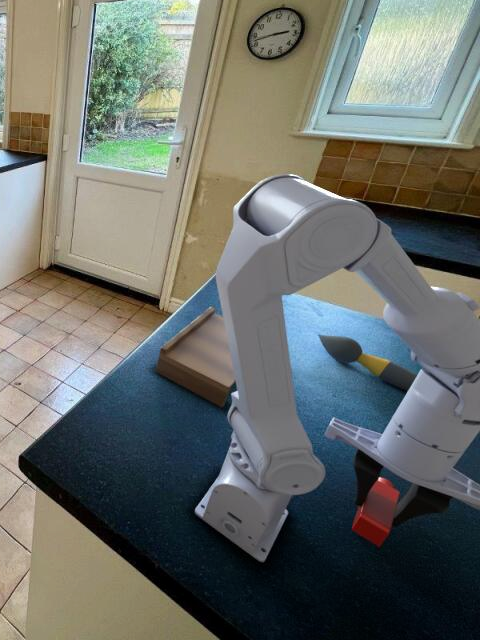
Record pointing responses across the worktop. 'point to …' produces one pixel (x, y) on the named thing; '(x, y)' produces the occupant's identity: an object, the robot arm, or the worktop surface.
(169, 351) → the shelf
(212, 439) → the worktop surface
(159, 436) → the worktop surface
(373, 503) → the red rectangular prism
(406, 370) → the paintbrush
